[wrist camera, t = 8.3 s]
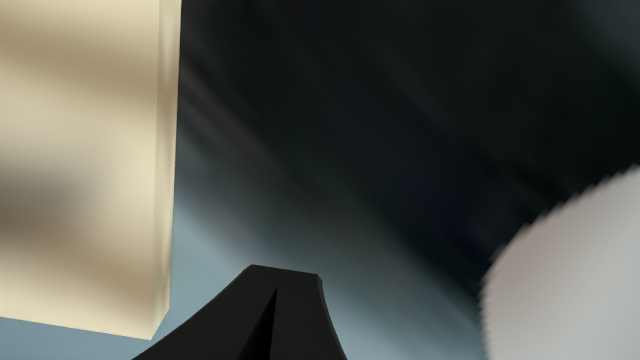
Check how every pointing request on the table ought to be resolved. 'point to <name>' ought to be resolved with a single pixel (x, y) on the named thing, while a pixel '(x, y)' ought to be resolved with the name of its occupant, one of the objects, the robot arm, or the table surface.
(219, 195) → the table surface
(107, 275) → the wooden cutting board
